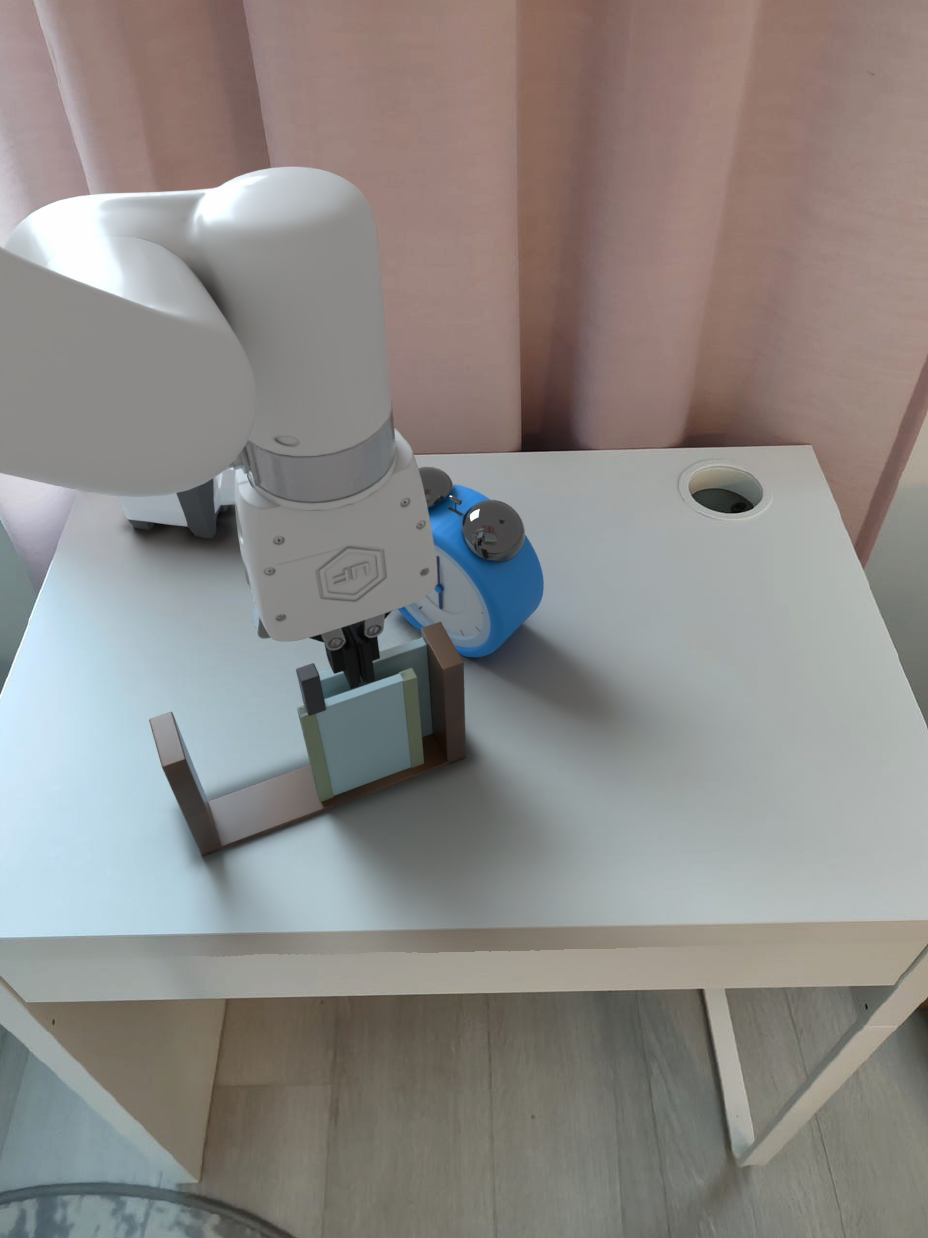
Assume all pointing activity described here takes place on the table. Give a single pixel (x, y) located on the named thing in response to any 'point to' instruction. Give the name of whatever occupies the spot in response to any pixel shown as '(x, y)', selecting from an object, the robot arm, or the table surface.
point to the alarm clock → (476, 568)
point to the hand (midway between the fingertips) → (355, 668)
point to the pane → (360, 730)
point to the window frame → (296, 789)
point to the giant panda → (184, 506)
